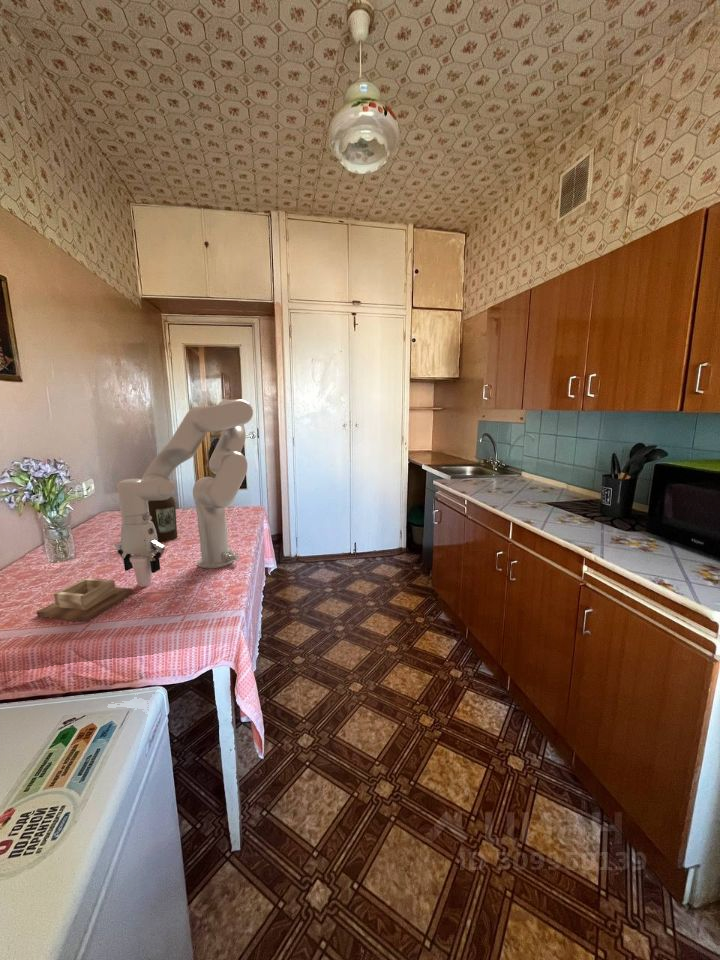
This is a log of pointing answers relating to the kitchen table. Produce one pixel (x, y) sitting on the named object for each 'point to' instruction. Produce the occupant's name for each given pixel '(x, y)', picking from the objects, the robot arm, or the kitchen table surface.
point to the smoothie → (142, 569)
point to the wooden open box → (85, 600)
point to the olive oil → (164, 518)
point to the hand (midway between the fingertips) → (142, 570)
